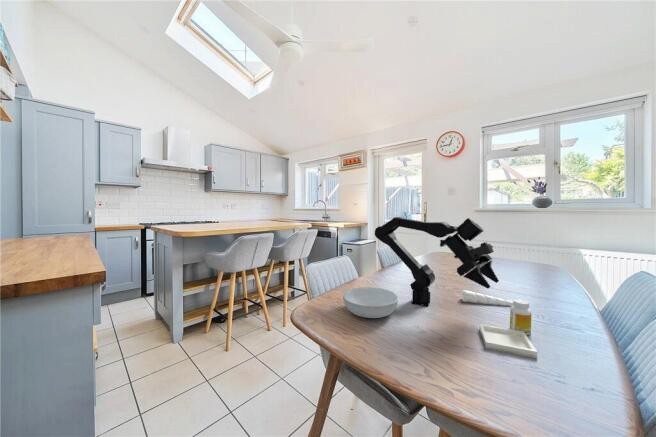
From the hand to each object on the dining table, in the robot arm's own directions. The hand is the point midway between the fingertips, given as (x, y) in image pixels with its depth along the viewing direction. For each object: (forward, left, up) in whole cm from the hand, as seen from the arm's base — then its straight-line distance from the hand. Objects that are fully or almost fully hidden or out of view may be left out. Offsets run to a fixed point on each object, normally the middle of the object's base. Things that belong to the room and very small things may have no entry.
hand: (493, 284), depth 84 cm
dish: (+1, -13, -13) cm, 19 cm away
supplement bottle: (+7, -3, -13) cm, 16 cm away
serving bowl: (-41, -9, -14) cm, 44 cm away
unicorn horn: (+3, +20, -14) cm, 24 cm away
